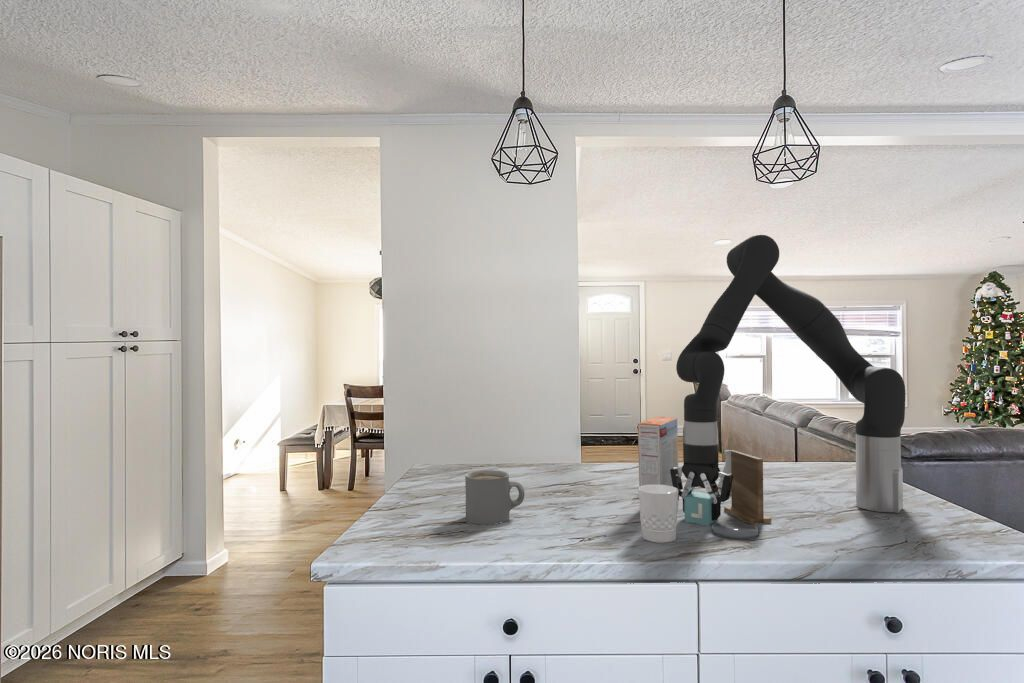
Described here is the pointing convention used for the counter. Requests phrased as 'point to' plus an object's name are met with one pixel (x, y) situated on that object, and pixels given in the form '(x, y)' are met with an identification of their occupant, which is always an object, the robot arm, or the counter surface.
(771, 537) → the counter surface
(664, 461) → the cracker box
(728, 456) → the flask
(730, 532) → the coaster
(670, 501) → the white cup
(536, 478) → the counter surface
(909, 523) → the counter surface
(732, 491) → the wooden stand
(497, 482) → the coffee mug
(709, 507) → the letter cube
